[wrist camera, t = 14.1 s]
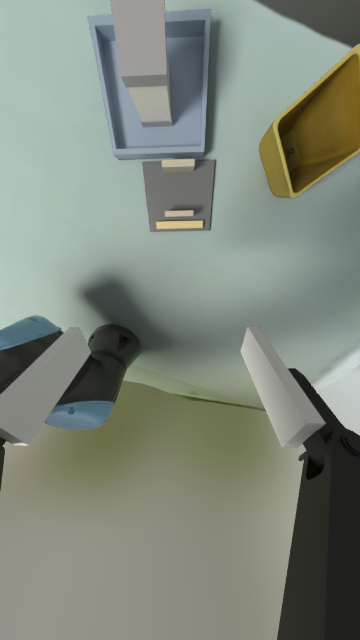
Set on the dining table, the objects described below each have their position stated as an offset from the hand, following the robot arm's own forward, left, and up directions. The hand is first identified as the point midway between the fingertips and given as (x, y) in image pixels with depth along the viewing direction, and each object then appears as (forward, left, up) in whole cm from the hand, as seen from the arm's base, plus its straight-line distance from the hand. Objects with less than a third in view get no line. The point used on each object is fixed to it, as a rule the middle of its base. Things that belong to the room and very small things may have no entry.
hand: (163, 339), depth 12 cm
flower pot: (+18, +16, -27) cm, 36 cm away
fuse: (-2, +22, -26) cm, 34 cm away
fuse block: (+1, +11, -27) cm, 29 cm away
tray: (-2, +22, -27) cm, 35 cm away
